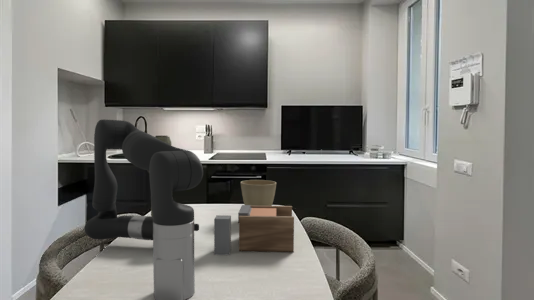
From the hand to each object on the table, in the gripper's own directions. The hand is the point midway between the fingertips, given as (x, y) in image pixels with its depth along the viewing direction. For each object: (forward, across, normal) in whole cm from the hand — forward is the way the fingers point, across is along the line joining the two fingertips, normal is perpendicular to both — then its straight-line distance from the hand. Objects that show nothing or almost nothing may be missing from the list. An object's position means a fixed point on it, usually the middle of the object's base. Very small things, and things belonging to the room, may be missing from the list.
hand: (193, 231), depth 116 cm
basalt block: (+10, 0, +6) cm, 11 cm away
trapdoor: (+18, +11, -2) cm, 21 cm away
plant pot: (+12, +41, +6) cm, 43 cm away
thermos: (-26, +30, +6) cm, 40 cm away
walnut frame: (+21, +11, +6) cm, 25 cm away
